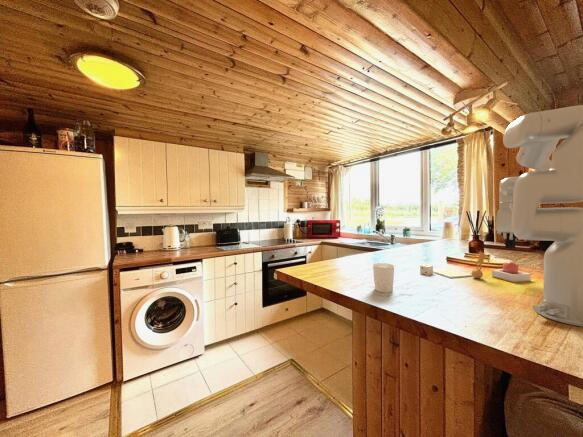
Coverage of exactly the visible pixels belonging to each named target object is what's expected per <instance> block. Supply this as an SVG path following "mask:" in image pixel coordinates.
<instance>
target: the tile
mask: <svg viewBox="0 0 583 437" xmlns="http://www.w3.org/2000/svg"><path fill="white" fill-rule="evenodd" d="M433 274H437V275H440V276H442V277H445V278H448V279H458V278H468V277H470V278H471V277H473V276H472V273H471V274H470V273H467V272H463V271H460V270H456V269H453V268H446V269H445V268H444V269H433Z"/></svg>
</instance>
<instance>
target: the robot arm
mask: <svg viewBox="0 0 583 437" xmlns="http://www.w3.org/2000/svg"><path fill="white" fill-rule="evenodd" d="M561 139H563V140H562V141H561V142H560V143H559V141H560V140H561ZM502 143H503V146H504V147H505V148H507V149H514V148H516V149H517V148H519V150H518V152H517V154H516V157H515V160H516V163H517V164H518V165H520V166H522V167H525V168H528V169H532V170H534V171H528V172H524V173H523V174H521V175H520V176H511V177H510V176H509V177H505V178H504V179H501V180H500V181H499V184H498V185H499V186H498V187H499V190H498V192H499V194H498V196H499V197H498V198H499V199H498V202H499V204H498V205H499V206H498V210H497V212H496V217H495V230H496V234H498V235H500V236H501V237H503V239H504V246H505V249H509V250H510V249H511V250H512V249H516V240H517V239H520V240H525V241H552V242H553V243H552V244H550V245H549V247H548V248H547V249H546V250H545V252H544V255H543V299H542V300H541V301H542V303H541V304H536V305H535V304H534V305H533V306H532V310H533V311H534V312H535V313H537V314H539V315H540V316H543V317H544V318H546V319H549V320H552V321H555V322H557V323H558V322H559V323H562V324H566V325H571V326H577V327H582V328H583V207H576V206H574V207H573V206H570V207H569V206H567V207H541V208H540V207H539V206H540V205H542V204H543V205H544V204H572V203H582V202H583V104H581V105H579V104H578V105H572V106H566V107H561V108H556V109H555V108H554V109H548V110H543V111H535V112H529V113H526V114H524V115H522V116H520V117H518V118H517V119H516V120H514V121H513V122H511V123H510V124H509V125H508V126H507V127H506V129H505V131H504V134H503V136H502ZM558 143H559V145H558ZM556 146H557V147H556ZM550 158H551V159H550Z"/></svg>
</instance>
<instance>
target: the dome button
mask: <svg viewBox="0 0 583 437" xmlns="http://www.w3.org/2000/svg"><path fill="white" fill-rule="evenodd" d="M502 269H503V272H505V273H510V274H518V271H519V264H517V263H515V262H514V261H506V262H503V263H502Z"/></svg>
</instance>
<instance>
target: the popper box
mask: <svg viewBox="0 0 583 437" xmlns="http://www.w3.org/2000/svg"><path fill="white" fill-rule="evenodd" d="M531 276H532V275H531V273H530V272H529V273H528V272H525V271H520V270H518V274H510V273H505V272H503V268H499V269H491V278H496V279H500V280H503V281H506V282H511V283H520V282H528V281H531V279H532V278H531Z"/></svg>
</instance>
